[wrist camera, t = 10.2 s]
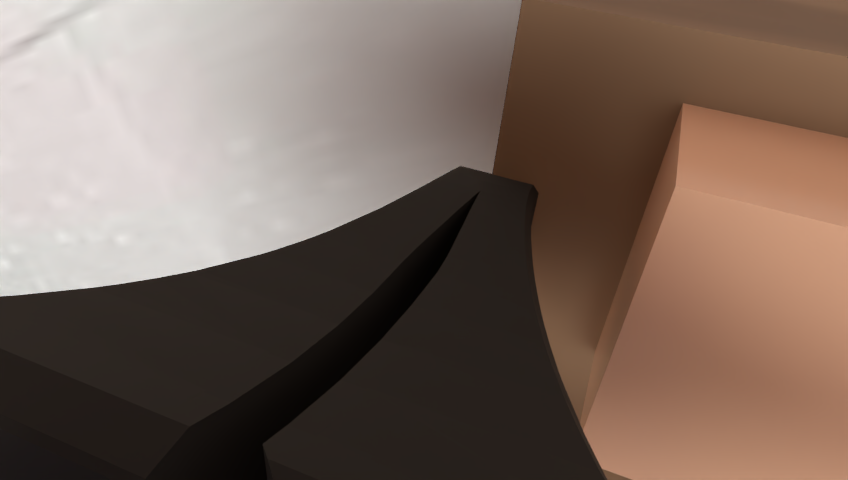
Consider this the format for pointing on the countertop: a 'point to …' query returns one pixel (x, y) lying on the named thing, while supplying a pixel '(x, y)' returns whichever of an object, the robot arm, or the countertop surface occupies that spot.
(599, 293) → the wooden cutting board
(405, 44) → the countertop surface
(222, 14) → the countertop surface
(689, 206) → the tile
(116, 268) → the countertop surface
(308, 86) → the countertop surface
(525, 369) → the robot arm
